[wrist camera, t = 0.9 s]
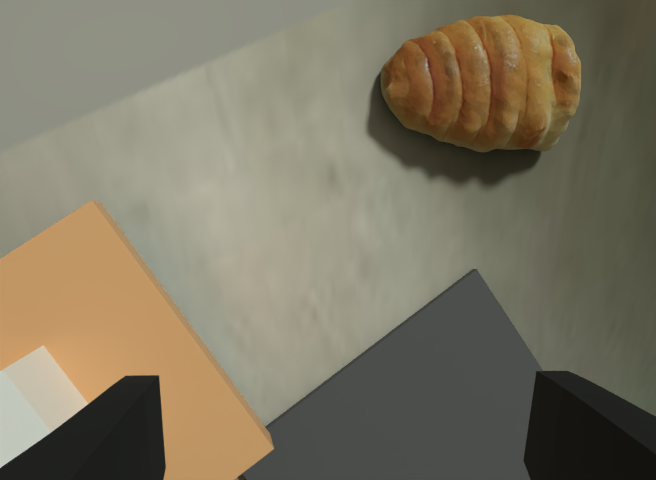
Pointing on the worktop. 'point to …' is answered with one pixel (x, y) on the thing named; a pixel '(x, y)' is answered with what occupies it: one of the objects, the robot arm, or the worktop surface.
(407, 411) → the mat
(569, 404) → the robot arm
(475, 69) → the pastry
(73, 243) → the lid
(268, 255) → the worktop surface
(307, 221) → the worktop surface
